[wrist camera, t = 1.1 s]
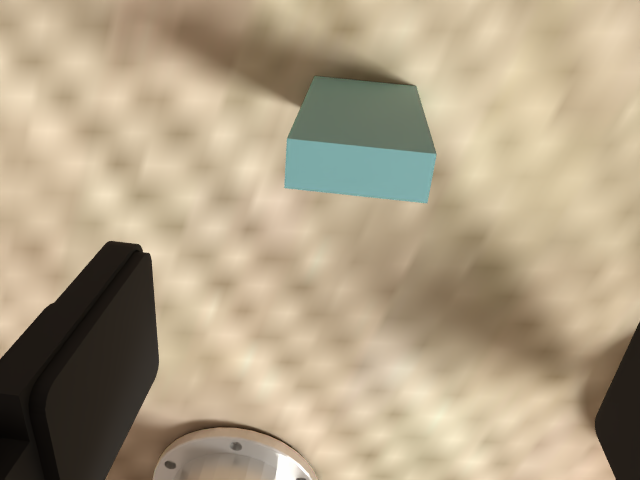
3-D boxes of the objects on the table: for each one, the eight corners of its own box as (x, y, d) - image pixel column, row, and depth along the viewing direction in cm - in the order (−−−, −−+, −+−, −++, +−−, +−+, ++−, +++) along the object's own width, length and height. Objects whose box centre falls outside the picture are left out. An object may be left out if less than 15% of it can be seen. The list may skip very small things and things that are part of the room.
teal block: (410, 121, 28) (427, 203, 19) (312, 111, 28) (284, 188, 19) (415, 85, 27) (436, 154, 18) (314, 75, 27) (286, 138, 19)
